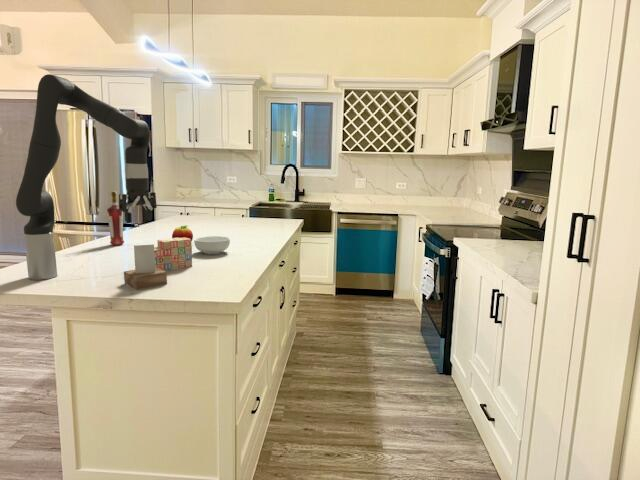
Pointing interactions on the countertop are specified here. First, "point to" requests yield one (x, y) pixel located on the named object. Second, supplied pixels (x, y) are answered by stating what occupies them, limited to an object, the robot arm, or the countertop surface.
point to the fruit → (182, 232)
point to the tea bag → (144, 258)
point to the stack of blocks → (173, 253)
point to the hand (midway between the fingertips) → (139, 221)
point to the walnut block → (145, 279)
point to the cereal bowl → (212, 244)
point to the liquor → (115, 222)
